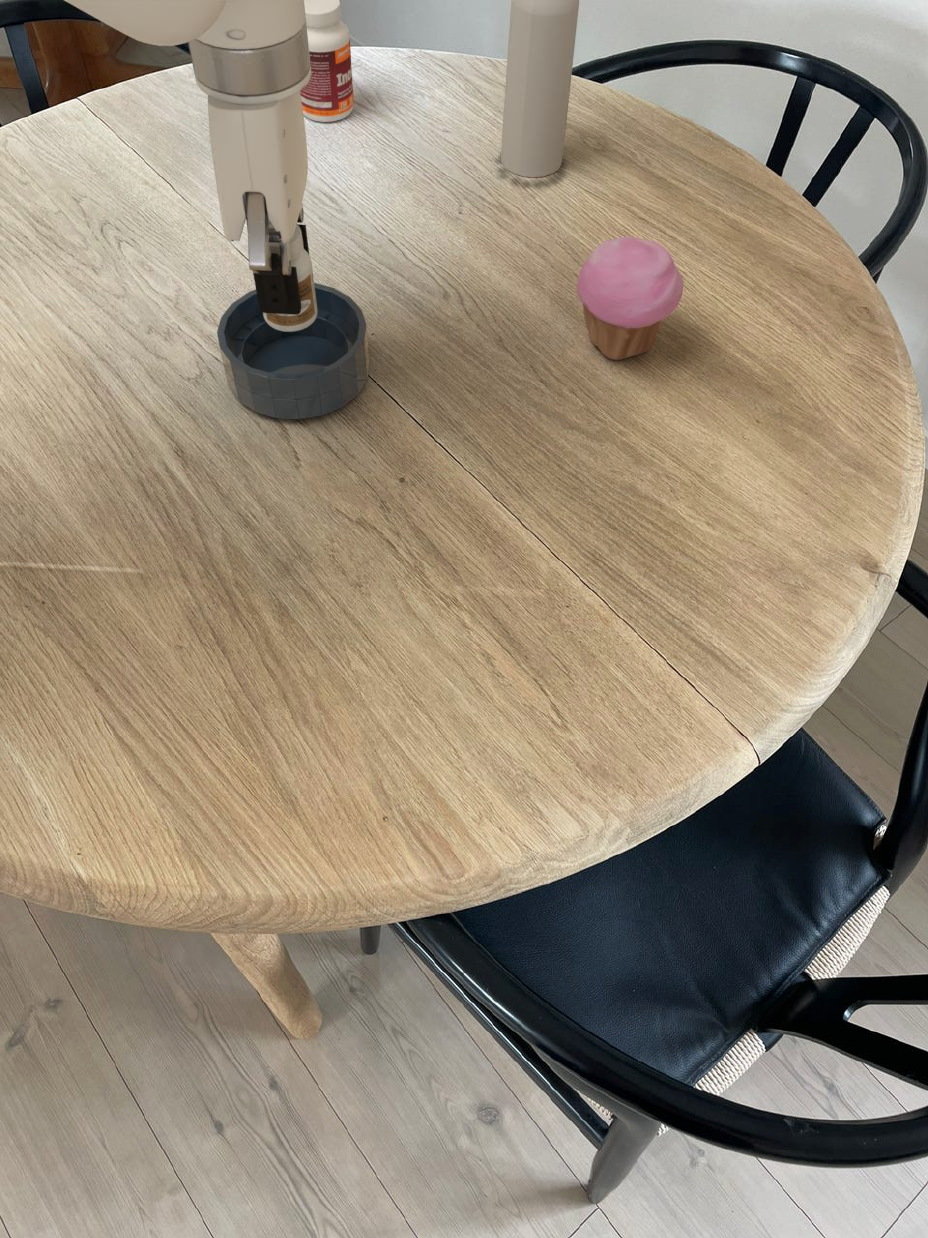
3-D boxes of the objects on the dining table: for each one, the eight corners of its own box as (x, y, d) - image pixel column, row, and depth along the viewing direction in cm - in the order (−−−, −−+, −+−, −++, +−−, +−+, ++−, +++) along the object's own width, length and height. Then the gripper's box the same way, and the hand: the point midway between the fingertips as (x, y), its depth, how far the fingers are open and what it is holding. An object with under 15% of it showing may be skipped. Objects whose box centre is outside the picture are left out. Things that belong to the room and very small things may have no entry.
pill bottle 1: (269, 337, 78) (254, 254, 72) (259, 303, 80) (244, 219, 74) (323, 328, 79) (313, 245, 72) (312, 294, 81) (301, 210, 75)
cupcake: (685, 357, 87) (711, 261, 79) (607, 391, 85) (626, 295, 76) (625, 301, 91) (645, 204, 83) (549, 332, 89) (561, 235, 80)
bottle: (515, 136, 107) (538, -180, 84) (571, 152, 105) (610, -165, 82) (490, 166, 103) (506, -155, 80) (547, 183, 102) (581, -139, 79)
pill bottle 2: (350, 125, 107) (342, 18, 98) (294, 122, 107) (282, 15, 98) (357, 96, 111) (351, -11, 101) (303, 92, 111) (292, -14, 102)
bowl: (216, 420, 81) (204, 374, 77) (241, 324, 88) (232, 277, 84) (361, 428, 81) (357, 382, 77) (375, 331, 88) (372, 285, 84)
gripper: (216, -13, 67) (256, 224, 82) (163, 119, 58) (219, 359, 73) (325, -8, 67) (345, 228, 82) (289, 126, 58) (319, 364, 73)
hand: (285, 287), depth 77 cm, fingers closed on pill bottle 1, 4 cm apart
